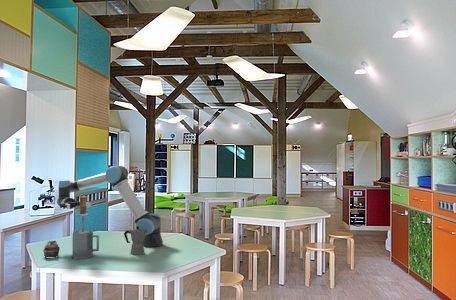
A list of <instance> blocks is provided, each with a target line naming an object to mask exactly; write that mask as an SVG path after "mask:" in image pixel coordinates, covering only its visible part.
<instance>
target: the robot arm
mask: <svg viewBox="0 0 456 300" xmlns="http://www.w3.org/2000/svg"><path fill="white" fill-rule="evenodd" d="M128 176H129V171H128V169H127V168H126V167H124V166H122V165H113V166H109V167H108V168H107V169H106V171H105V172H104V173H101V174H96V175H94V176H90V177H85V178H83V179H82V178H81V179H79V180H75V181H70V179H63V180H59V181H58V198H57V200H56V204H57V206H59V208H60V209H63V210H64V209H65V210H73V209H74V208H76V207H80V200H77V201H76V199H74V198H73V197H71V193H75V192H76V193H77V192H79V191H82V190H83V191H84V190H86V189H89V188H93V187H97V186H101V185H104V184H108V183H110V185H111V186H112V188H113V189H116V190H117V191H118V193H119V194H120V196H121V198H122V200H123V201H124V203H125V205H126V206H127V208H128V209H129V211H130V213H131V215H132V216H133V222H134V224H135V230H136V229H137V228H136V227H137V226H138V227H139V229H141V230H146V231H148V232H147V233H146V234H145V236H144V240H143V246H144V248H145V247H146V248H157V247H162V246H163V245H164V240H163V237H162V234H161V231H162V230H161V223H162V222H161V220H162V217H161V214H160V213H150V212H149V211H146V210H145V209H144V206H143V205H142V203H141V202H140V200H139V199H138V197H137V195H136V194H135V192H134V191H133V189H132V187H131V185H130V184H129V178H128ZM91 207H92V202H91V201H89V200H86V208H91Z"/></svg>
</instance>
